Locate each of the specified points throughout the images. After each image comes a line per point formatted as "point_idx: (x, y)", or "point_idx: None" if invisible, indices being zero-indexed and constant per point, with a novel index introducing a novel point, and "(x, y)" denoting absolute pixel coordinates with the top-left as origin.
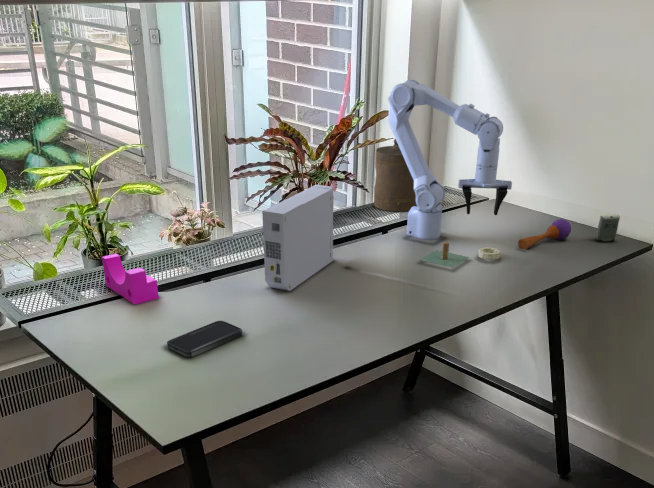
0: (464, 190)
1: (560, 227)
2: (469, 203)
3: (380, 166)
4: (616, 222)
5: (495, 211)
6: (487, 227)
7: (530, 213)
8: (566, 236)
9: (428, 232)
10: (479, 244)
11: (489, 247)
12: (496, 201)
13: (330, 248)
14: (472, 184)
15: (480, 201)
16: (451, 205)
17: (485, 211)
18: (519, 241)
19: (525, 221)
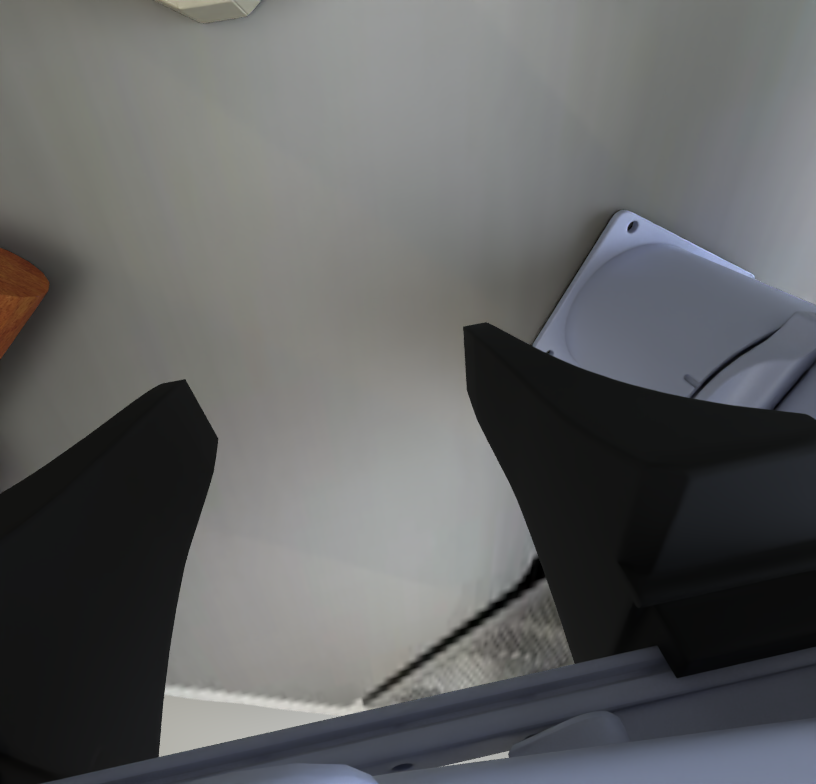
0: (809, 515)
1: None
2: (531, 371)
3: None
4: None
5: (160, 397)
6: (330, 527)
7: (203, 670)
8: None
9: (683, 261)
10: (332, 297)
11: (192, 5)
12: (135, 524)
13: None
14: (796, 761)
15: (385, 686)
16: (473, 643)
17: (360, 640)
18: (19, 290)
19: (193, 617)
